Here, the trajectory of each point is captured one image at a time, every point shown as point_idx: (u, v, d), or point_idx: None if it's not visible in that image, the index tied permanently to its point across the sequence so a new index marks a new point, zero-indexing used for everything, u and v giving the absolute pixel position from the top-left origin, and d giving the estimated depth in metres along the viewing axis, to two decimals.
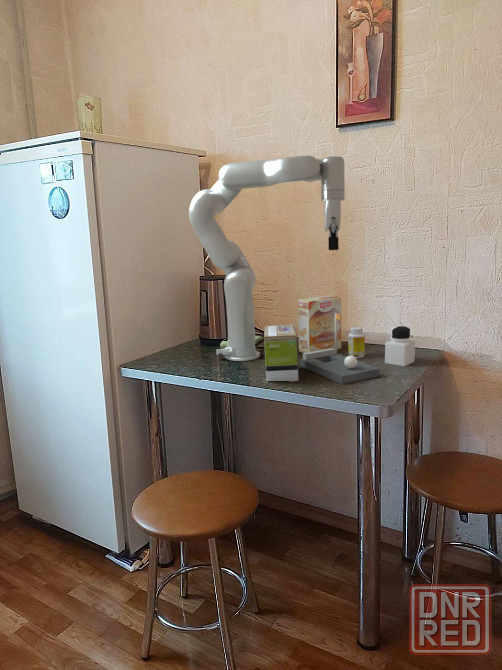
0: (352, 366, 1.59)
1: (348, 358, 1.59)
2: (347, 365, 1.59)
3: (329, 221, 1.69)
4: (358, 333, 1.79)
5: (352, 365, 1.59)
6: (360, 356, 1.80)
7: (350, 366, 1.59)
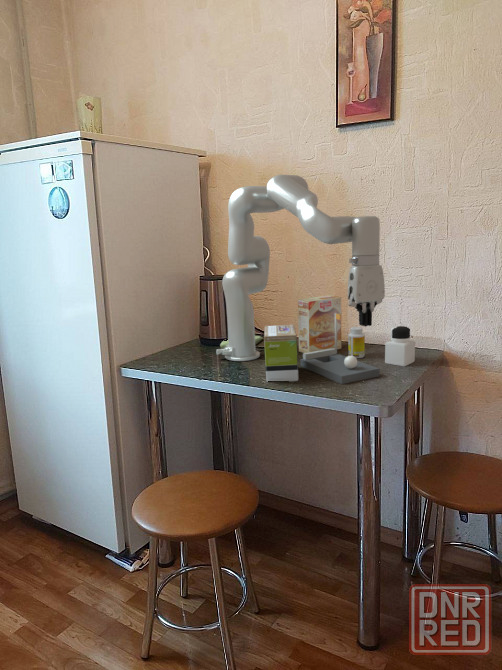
0: (352, 366, 1.59)
1: (348, 358, 1.59)
2: (347, 365, 1.59)
3: None
4: (358, 333, 1.79)
5: (352, 365, 1.59)
6: (360, 356, 1.80)
7: (350, 366, 1.59)
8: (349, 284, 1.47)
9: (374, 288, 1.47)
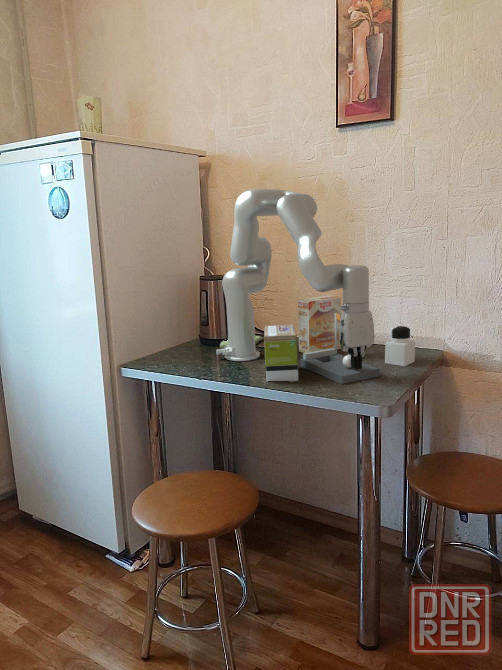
0: None
1: (345, 357, 1.60)
2: (346, 363, 1.60)
3: None
4: None
5: None
6: None
7: (349, 364, 1.59)
8: (340, 330, 1.54)
9: (364, 333, 1.54)
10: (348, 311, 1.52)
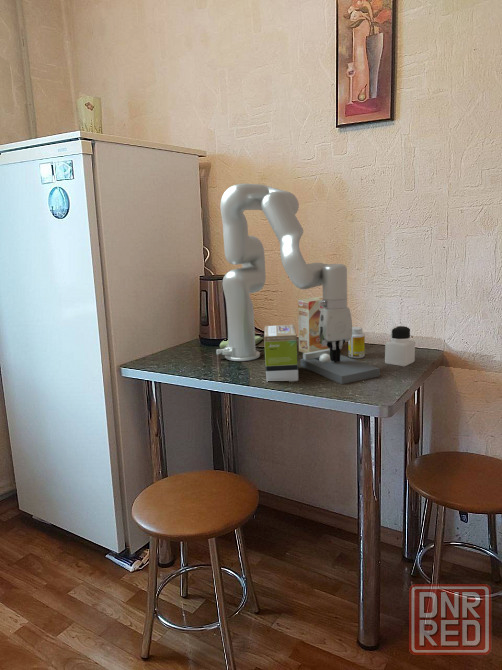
0: None
1: (325, 361, 1.71)
2: None
3: None
4: (358, 333, 1.79)
5: None
6: (360, 356, 1.80)
7: None
8: (320, 324, 1.64)
9: (342, 328, 1.63)
10: (327, 307, 1.61)
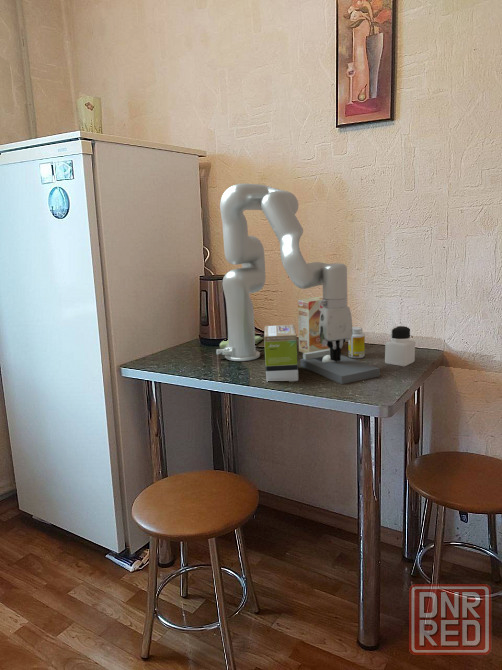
0: None
1: None
2: None
3: None
4: (358, 333, 1.79)
5: None
6: (360, 356, 1.80)
7: None
8: (320, 324, 1.64)
9: (342, 328, 1.63)
10: (327, 306, 1.61)
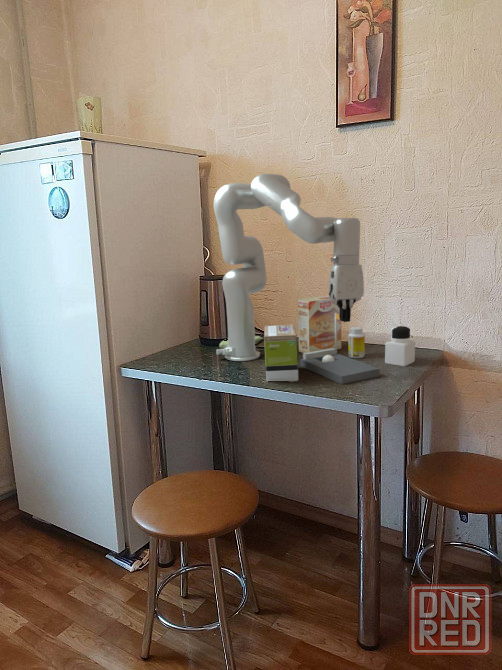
0: None
1: None
2: None
3: None
4: (358, 333, 1.79)
5: None
6: (360, 356, 1.80)
7: None
8: (330, 282, 1.56)
9: (353, 286, 1.55)
10: (338, 263, 1.53)
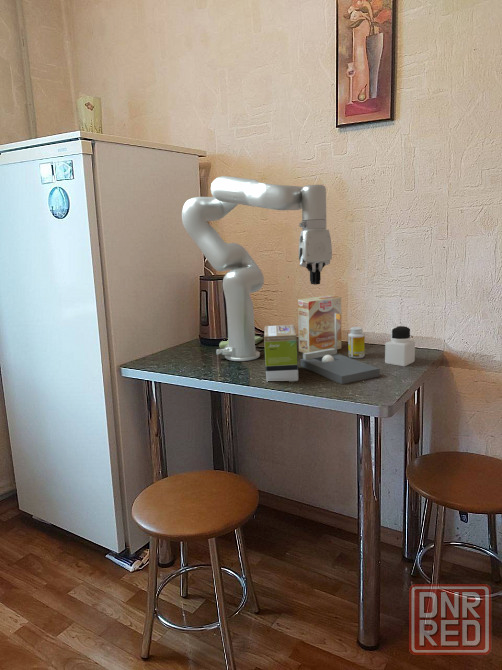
0: None
1: None
2: None
3: None
4: (358, 333, 1.79)
5: None
6: (360, 356, 1.80)
7: None
8: (299, 246, 1.65)
9: (322, 250, 1.64)
10: (306, 227, 1.62)
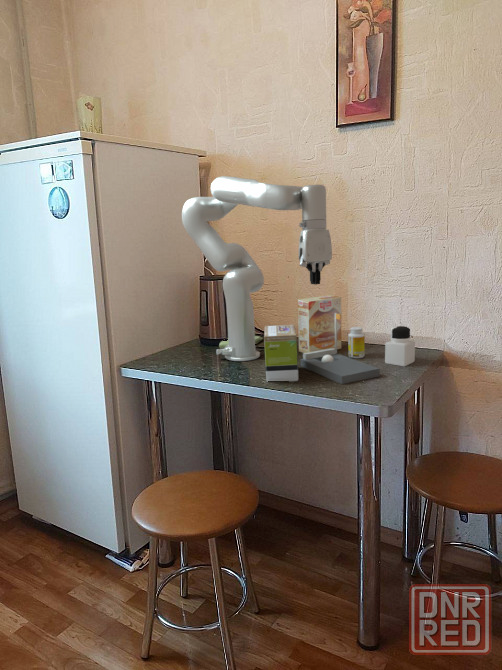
0: None
1: None
2: None
3: None
4: (358, 333, 1.79)
5: None
6: (360, 356, 1.80)
7: None
8: (299, 246, 1.65)
9: (322, 249, 1.64)
10: (306, 227, 1.62)
